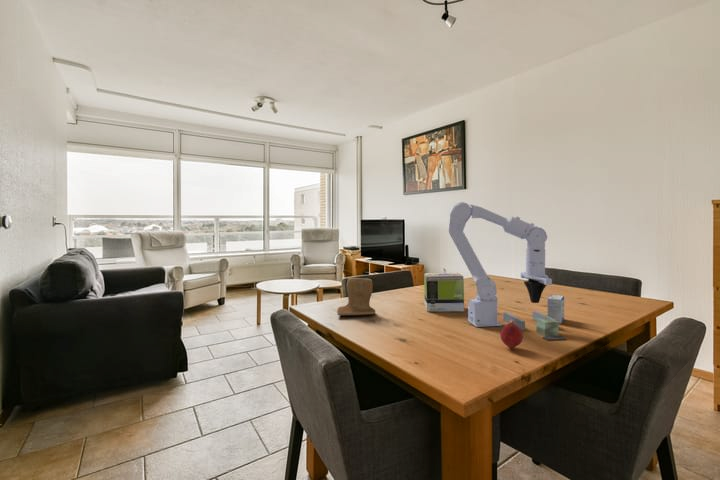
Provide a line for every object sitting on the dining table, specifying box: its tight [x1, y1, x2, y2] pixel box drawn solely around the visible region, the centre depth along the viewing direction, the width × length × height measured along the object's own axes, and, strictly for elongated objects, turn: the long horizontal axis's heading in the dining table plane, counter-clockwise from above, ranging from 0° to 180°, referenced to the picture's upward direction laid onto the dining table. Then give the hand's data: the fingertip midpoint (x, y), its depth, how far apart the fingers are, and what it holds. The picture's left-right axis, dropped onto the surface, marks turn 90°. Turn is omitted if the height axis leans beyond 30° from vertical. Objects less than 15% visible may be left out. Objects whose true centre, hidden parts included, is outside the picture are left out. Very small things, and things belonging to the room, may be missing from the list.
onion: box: [499, 320, 524, 350], centre depth 97 cm, size 6×6×8 cm
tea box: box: [423, 272, 465, 312], centre depth 142 cm, size 15×10×15 cm, turn 84°
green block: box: [535, 318, 560, 337], centre depth 109 cm, size 4×4×4 cm
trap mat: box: [542, 335, 567, 342], centre depth 104 cm, size 6×2×1 cm, turn 95°
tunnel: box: [502, 310, 557, 331], centre depth 120 cm, size 12×12×3 cm
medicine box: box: [546, 294, 565, 325], centre depth 123 cm, size 8×4×9 cm, turn 143°
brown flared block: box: [336, 277, 376, 317], centre depth 136 cm, size 15×12×15 cm
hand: (534, 302), depth 116 cm, fingers closed
